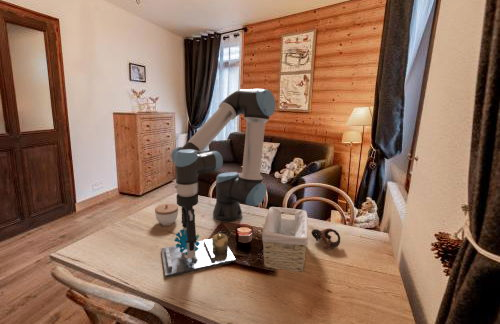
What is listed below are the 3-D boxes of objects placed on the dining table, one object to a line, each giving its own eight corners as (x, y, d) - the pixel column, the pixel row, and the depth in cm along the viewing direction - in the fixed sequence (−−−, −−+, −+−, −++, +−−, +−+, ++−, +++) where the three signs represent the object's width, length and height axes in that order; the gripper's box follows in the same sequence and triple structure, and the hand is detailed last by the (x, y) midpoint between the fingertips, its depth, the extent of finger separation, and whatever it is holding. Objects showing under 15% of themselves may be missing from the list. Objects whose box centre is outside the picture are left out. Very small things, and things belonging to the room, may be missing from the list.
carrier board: (222, 239, 108) (222, 223, 106) (235, 261, 93) (235, 244, 91) (161, 251, 98) (160, 234, 97) (165, 278, 83) (164, 258, 82)
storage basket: (305, 276, 86) (308, 238, 83) (259, 269, 89) (260, 232, 86) (304, 240, 109) (307, 209, 106) (268, 236, 112) (269, 205, 109)
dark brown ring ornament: (336, 240, 111) (343, 230, 105) (333, 259, 104) (341, 249, 98) (310, 230, 113) (315, 219, 107) (306, 247, 106) (311, 237, 101)
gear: (184, 257, 86) (172, 232, 89) (175, 264, 89) (164, 239, 92) (206, 247, 95) (194, 224, 98) (197, 254, 98) (186, 231, 101)
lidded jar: (183, 221, 124) (182, 203, 122) (165, 230, 115) (164, 211, 113) (168, 215, 129) (167, 198, 127) (151, 223, 120) (149, 205, 118)
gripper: (172, 185, 97) (175, 237, 102) (181, 206, 77) (183, 269, 82) (192, 183, 100) (193, 234, 105) (204, 203, 80) (205, 264, 85)
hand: (189, 249), depth 94 cm, fingers closed on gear, 9 cm apart
